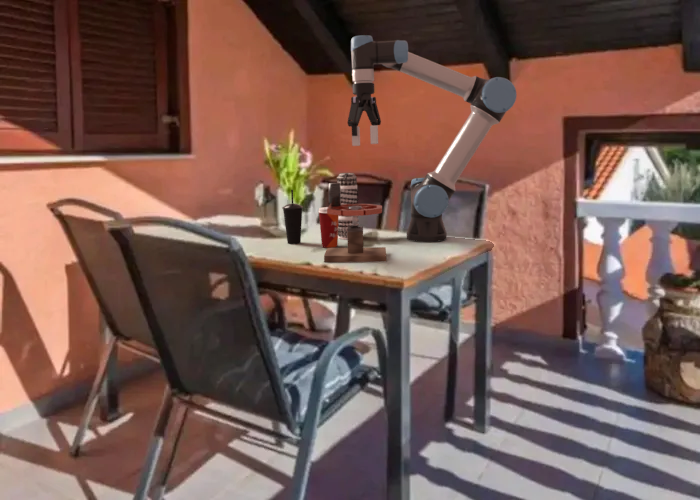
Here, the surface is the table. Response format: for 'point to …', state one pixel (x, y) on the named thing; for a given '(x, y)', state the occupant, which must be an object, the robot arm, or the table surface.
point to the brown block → (355, 250)
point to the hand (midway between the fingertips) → (365, 144)
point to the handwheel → (348, 206)
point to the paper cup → (328, 228)
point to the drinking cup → (293, 221)
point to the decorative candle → (347, 201)
